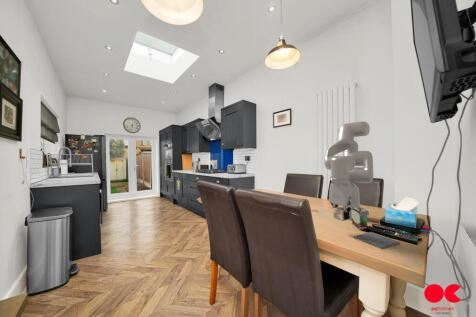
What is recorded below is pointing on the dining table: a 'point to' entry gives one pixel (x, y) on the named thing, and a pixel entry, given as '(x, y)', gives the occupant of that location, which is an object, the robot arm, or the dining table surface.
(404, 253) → the dining table surface
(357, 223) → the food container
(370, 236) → the charcoal mat
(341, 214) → the birch cube
